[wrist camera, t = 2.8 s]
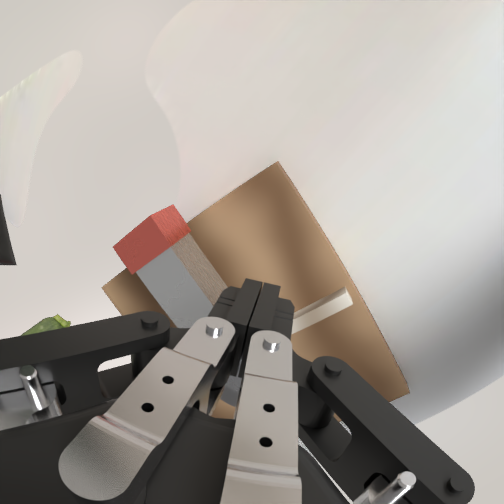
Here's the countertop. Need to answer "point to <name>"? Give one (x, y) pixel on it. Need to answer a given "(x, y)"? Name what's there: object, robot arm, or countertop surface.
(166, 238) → the bar
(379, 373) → the door board
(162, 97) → the countertop surface
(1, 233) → the barrier
